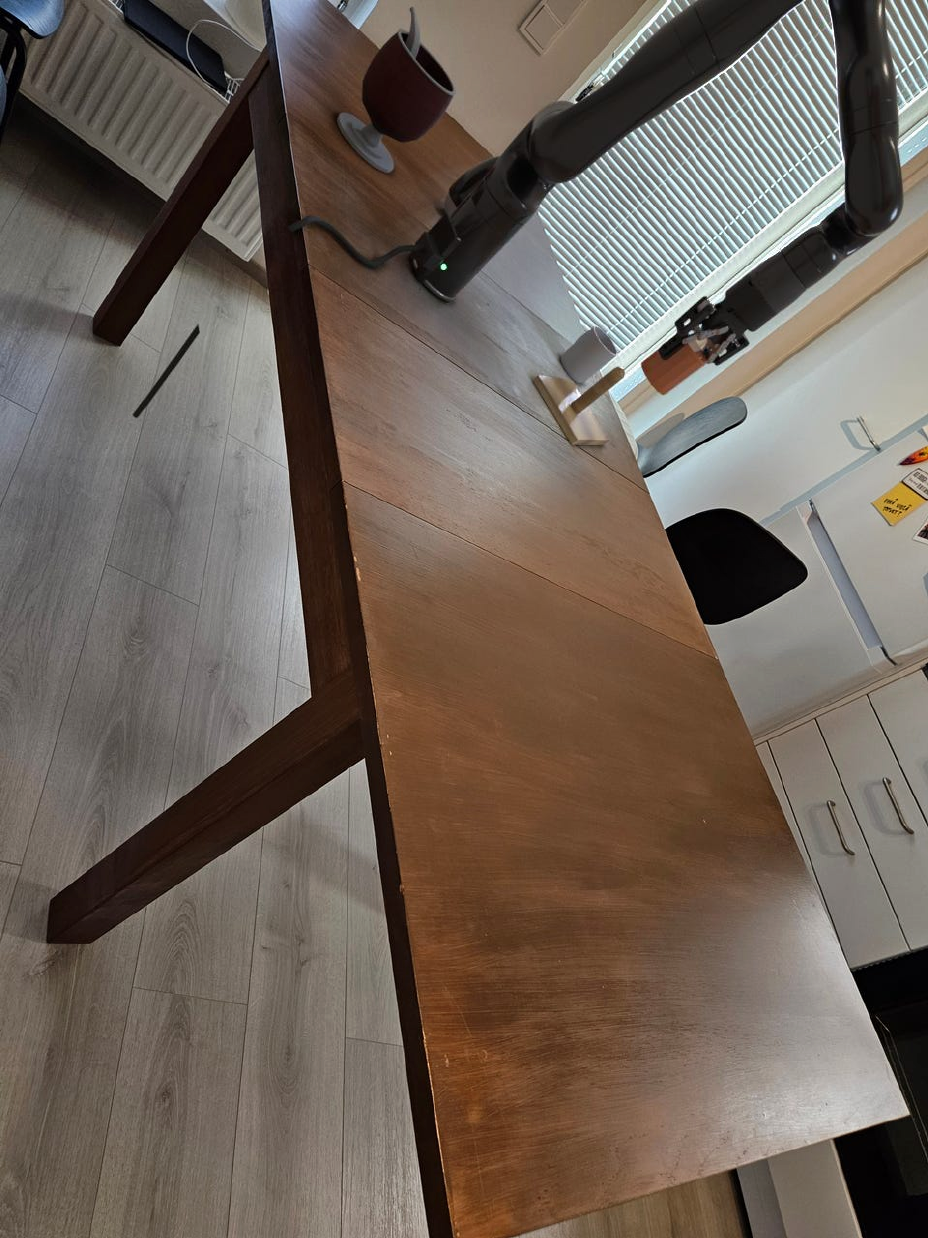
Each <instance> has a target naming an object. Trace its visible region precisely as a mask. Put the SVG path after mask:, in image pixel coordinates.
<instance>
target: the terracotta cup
mask: <svg viewBox="0 0 928 1238" xmlns="http://www.w3.org/2000/svg"><path fill="white" fill-rule="evenodd" d="M690 334H691V333H690V332H689V333H688V335H690ZM702 349H703V348H701V346H700V345H699V343H698V342H697V340H694V341H692V342H689V343H687V344H684V347H683V348H681V349H680V350H679V351H678V352H676V353H675V354H674V355H672V356H671V357H670V358H669V359H667V360H664V359H662V358H661V356H660V354H659V352H658V350H659V348H657V349H656V350H655V351H653V352H652V353H651V354H650V355H649V356H648V357H646V358H644V360H643V361H641V362H640V367H641V371H642V372H643V375H644V376H645V378H646V379H647V381H648V382H649V384H650V385H651V386H652V387H653V388H654V390H655V391H656V392H657V393H658V394H660V395H662V396H666V395H667V394H669V393H671V392H672V391H673V390H674V389H675V388H677V387H678V386H679V385H681V384H683V382H685V381H686V380H687V379H689V378H690V377H691V376H692V375H694V374H695V373H697V372H698V371H699V370H701V369H703V367H704V366H705V365H707V364H706V363H707V359H706V357H705V355H704V353H703V351H702Z"/></svg>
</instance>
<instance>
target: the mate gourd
mask: <svg viewBox="0 0 928 1238" xmlns="http://www.w3.org/2000/svg"><path fill="white" fill-rule="evenodd" d="M409 13H410V26H409V31H408V30H406V29H403V28H398V30H397V32H395V33H394V34H393V35H391V36H390V37H389V38H388V39H387V40H386V42H385V43H384V44H383V45H382V46H381V47H380V48H379V50H378V51H377V52H376V55H374V57H373V58H372V60H371V62H370V64H369V66H368V68H367V70H366V71H365V74H364V76H363V79H362V86H361V87H362V88H361V90H362V91H361V101H362V104H363V106H364V108H365V111H366V113H367V115H368V117H369V119H370V122H371V123H369V124H367V125H366V124H365V123H364V122H363V121H361V120H360V119H359V118H358V117H356V116H354V115H352V114H351V113H348V112H344V111H343V112H340V114H339V115H338V116H337V119H336V122H337V125H338V128H339V130H340V132H341V134H342V135H343V137H344V138H345V140H346V141H347V142H348V144H349V145H350V146H351V147H352V149H353V150H355V151H356V153H357V154H358V155H359V156H360V157H361V158H362V159H364V160H365V161H366V162H367V163H368V164H369V165H370V166H372V167H373V168H375V169H376V170H378V171H380V172H382V173H386V174H389V173H391V172H393V170H394V168H395V162H394V160H393V156H392V155H391V153H390V152H389V150H388V148H387V147H386V146H385V144H384V143H383V141H382V139H383V136H386V137H388V138H390V139H392V140H395V141H396V142H399V143H403V144H405V143H409V142H414V141H415V142H416V141H418V140H419V139H421V138H422V137H424V136H425V135H426V134H428V132H430V130H431V129H433V128H434V127H435V126H436V124H437V123H438V122H439V121H440V119H441V118H442V117H443V116H444V115H445V112H446V111H447V109H448V108H449V106H450V104H451V102H452V100H453V98H454V96H456V94H457V89H456V86H455V84H454V82H453V80H452V78H451V77H450V75H449V73H447V71H446V69H445V68H444V67H443V65H442V64H441V63H440V62H439V60H438V59H437V58H436V56H434V54H433V53H432V52H431V51H430V50H429V48H427V47H426V46H425V44H423V43H422V41H421V31H420V30H421V29H420V25H419V20H418V17H417V12H416V9H415V7H414V6H411V7H410V8H409Z"/></svg>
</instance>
